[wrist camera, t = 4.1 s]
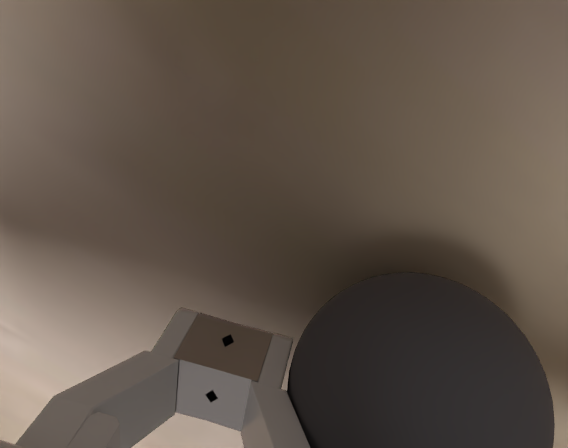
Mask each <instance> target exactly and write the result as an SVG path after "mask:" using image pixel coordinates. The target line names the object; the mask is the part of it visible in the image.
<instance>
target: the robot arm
mask: <svg viewBox="0 0 568 448" xmlns="http://www.w3.org/2000/svg"><path fill="white" fill-rule="evenodd" d="M292 343H293V338H291V337H287V336H283V335H280V334H276V333H272V332H268V331H264V330H260V329H256V328H253V327H249V326H245V325H241V324H237V323H233V322H230V321H227V320H223V319H220V318H217V317H213V316H210V315H207V314H203V313H198V312H195V311H192V310H189V309H185V308H182V307H181V308H180V309H179V310H177V311H176V313H175V315H174V316H173V318H172V319H171V321H170V322H169V324H168V326H167V327H166V329H165V330H164V332H163V334H162V335H161V337H160V338H159V340H158V342H157V343H156V345H155V346H154V348H153V349H152V351H151V352H149V351H143V352H141V353H139V354H137V355H135V356H133V357H131V358H129V359H127V360H125V361H123V362H121V363H119V364H117V365H115V366H113V367H111V368H109V369H107V370H105V371H103V372H101V373H99V374H97V375H95V376H93V377H91V378H89V379H87V380H85V381H83V382H81V383H79V384H77V385H75V386H73V387H71V388H69V389H67V390H65V391H63V392H61V393H59V394H57V395H55V396H53V398H52V399H51V400H50V401H49V403H48V404H47V405H46V406H45V408H44V409H43V410H42V411H41V413H40V414H39V415H38V416H37V418H36V419H35V420H34V421H33V423H32V424H31V425H30V426H29V428H28V429H27V430H26V431H25V433H24V434H23V435H22V436H21V438H20V439H19V440H18V441H17V443H16V444H12V443H9V442H5V441H2V440H0V448H131V447H132V446H134V445H135V444H136V443H138V442H139V441H140V440H142V439H143V438H144V437H146V436H147V435H148V434H149V433H151V432H152V431H153V430H155V429H156V428H157V427H159V426H160V425H161V424H163V423H164V422H165V421H167V420H168V419H169V418H170V417H172V416H173V415H174V414H175V412H177V413H180V414H184V415H188V416H192V417H195V418H199V419H203V420H207V421H210V422H213V423H216V424H219V425H222V426H225V427H228V428H232V429H235V430H238V431H241V436H242V440H243V444H244V448H310V446H309V443H308V441H307V439H306V436H305V434H304V431H303V429H302V427H301V424H300V422H299V420H298V417H297V415H296V412H295V410H294V408H293V405H292V403H291V401H290V398H289V396H288V393H287V391H285V390H282V389H281V387H282V383H283V379H284V375H285V371H286V367H287V363H288V359H289V355H290V351H291V347H292Z"/></svg>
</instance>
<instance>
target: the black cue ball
mask: <svg viewBox="0 0 568 448" xmlns="http://www.w3.org/2000/svg"><path fill="white" fill-rule="evenodd" d="M287 393H288V396H289V398H290V401H291V403H292V405H293V408H294V410H295V412H296V415H297V417H298V420H299V422H300V424H301V427H302V429H303V431H304V434H305V436H306V439H307V441H308V443H309V446H310V448H553V441H554V411H553V401H552V397H551V393H550V389H549V385H548V382H547V378H546V374H545V372H544V370H543V367H542V365H541V363H540V360H539V358H538V356H537V355H536V353H535V351H534V349H533V348H532V346H531V345H530V343H529V341H528V340H527V338H526V336H525V335H524V334H523V333H522V331H521V330H520V329H519V328H518V327H517V326H516V324H515V323H514V322H513V321H512V320H511V319H510V318H509V316H508V315H507V314H505V313H504V312H503V311H502V310H501V309H500V308H499V307H497V306H496V305H495V304H494V303H492V302H491V301H490V300H488V299H487V298H486V297H484V296H482V295H481V294H479V293H478V292H476V291H474V290H472V289H470V288H468V287H467V286H464V285H462V284H460V283H457V282H455V281H452V280H449V279H446V278H443V277H438V276H434V275H428V274H423V273H412V272H409V273H393V274H385V275H380V276H376V277H372V278H369V279H366V280H363V281H361V282H358V283H356V284H354V285H352V286H350V287H349V288H347V289H345V290H343V291H342V292H340V293H339V294H337V295H336V296H335V297H333V298H332V299H331V300H329V301H328V302H327V303H326V304H325V305H324V306H323V307H322V308H321V309H320V310H319V311H318V313H317V314H316V315H315V316H314V317H313V319H312V320H311V321H310V323H309V324H308V326H307V327H306V329H305V330H304V332H303V334H302V336H301V338H300V340H299V342H298V345H297V347H296V349H295V352H294V356H293V359H292V363H291V367H290V370H289V378H288V388H287Z"/></svg>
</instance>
